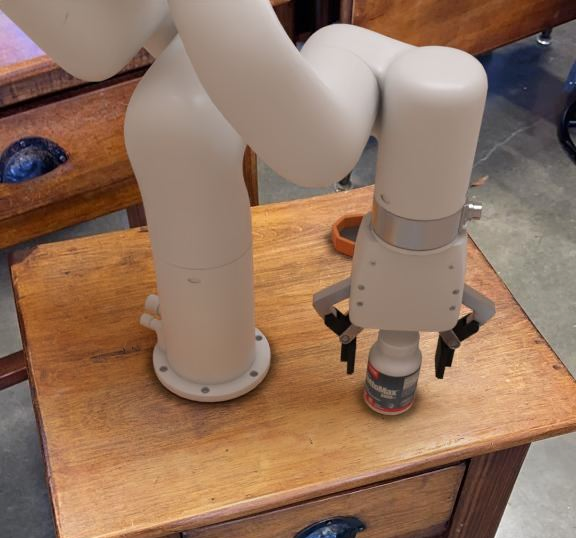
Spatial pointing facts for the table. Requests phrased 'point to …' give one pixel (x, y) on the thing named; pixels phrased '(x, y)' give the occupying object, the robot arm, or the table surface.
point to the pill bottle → (393, 371)
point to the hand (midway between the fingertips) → (394, 366)
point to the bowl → (346, 233)
